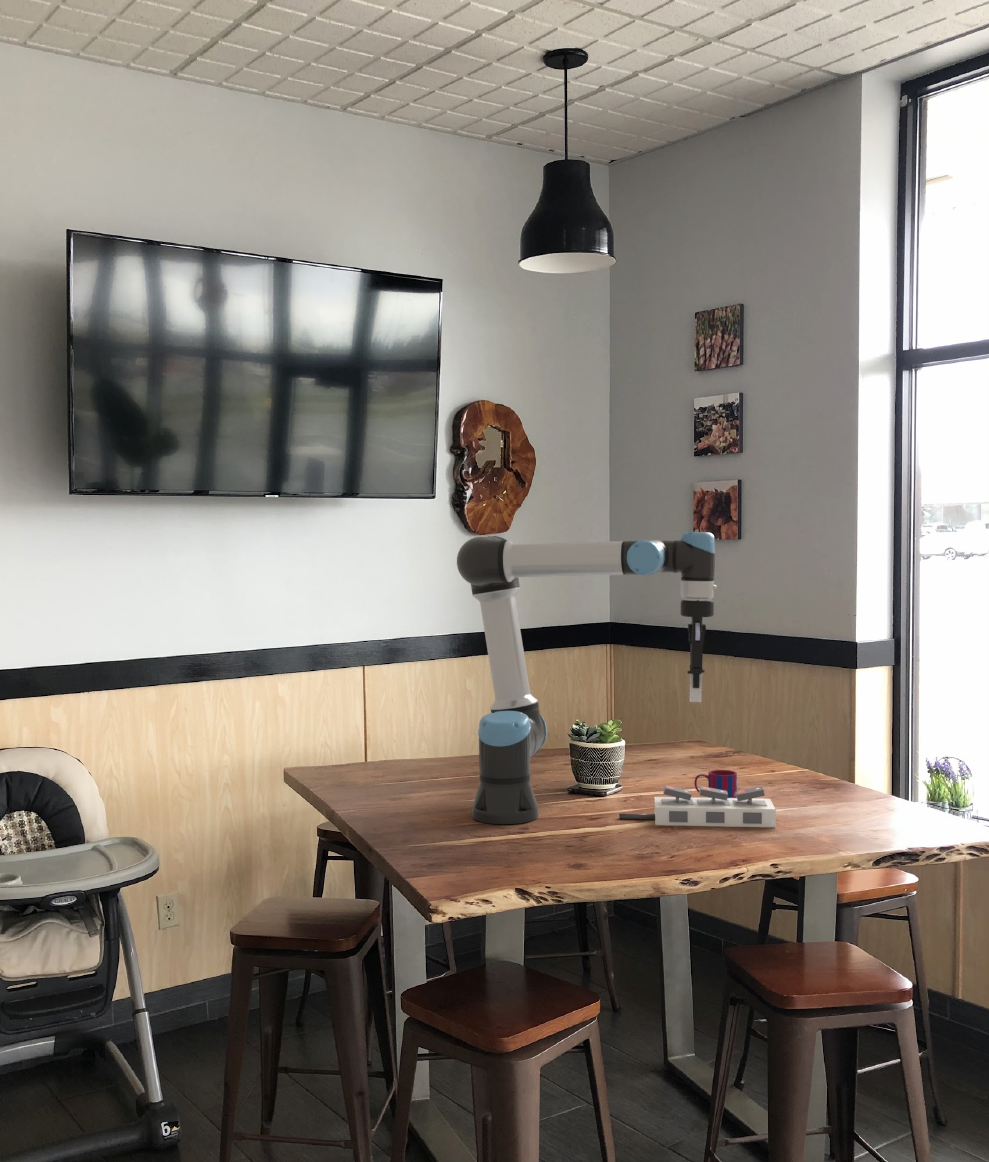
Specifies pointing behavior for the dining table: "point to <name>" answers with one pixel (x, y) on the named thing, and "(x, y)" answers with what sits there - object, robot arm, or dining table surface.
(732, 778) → the mug
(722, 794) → the rocker mid
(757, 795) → the rocker right
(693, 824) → the strip
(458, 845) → the dining table surface
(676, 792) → the rocker left
